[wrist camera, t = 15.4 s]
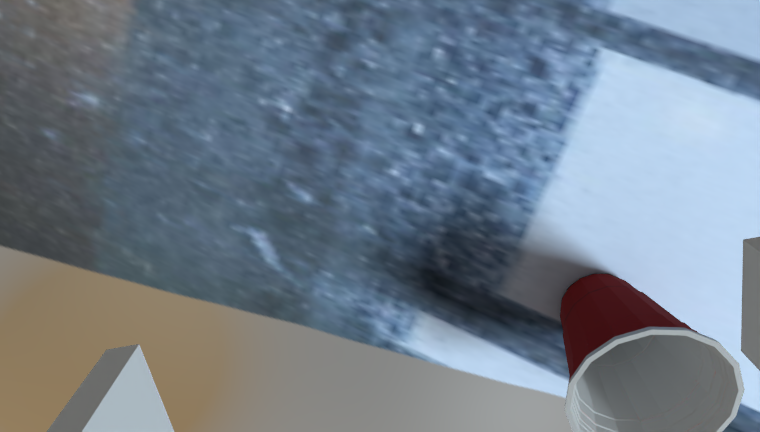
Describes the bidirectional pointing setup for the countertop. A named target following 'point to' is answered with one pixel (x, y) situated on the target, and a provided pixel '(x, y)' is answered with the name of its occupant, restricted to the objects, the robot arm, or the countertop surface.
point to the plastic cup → (641, 365)
